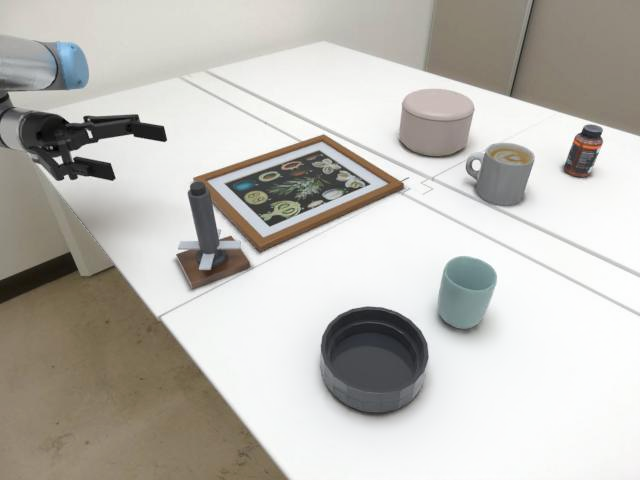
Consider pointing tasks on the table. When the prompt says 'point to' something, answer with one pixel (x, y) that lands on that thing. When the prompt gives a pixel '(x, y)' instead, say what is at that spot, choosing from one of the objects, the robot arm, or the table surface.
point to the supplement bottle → (584, 151)
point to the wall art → (295, 189)
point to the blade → (206, 230)
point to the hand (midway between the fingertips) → (140, 151)
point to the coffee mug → (502, 172)
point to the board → (201, 277)
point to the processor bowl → (373, 359)
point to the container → (435, 121)
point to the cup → (465, 291)
